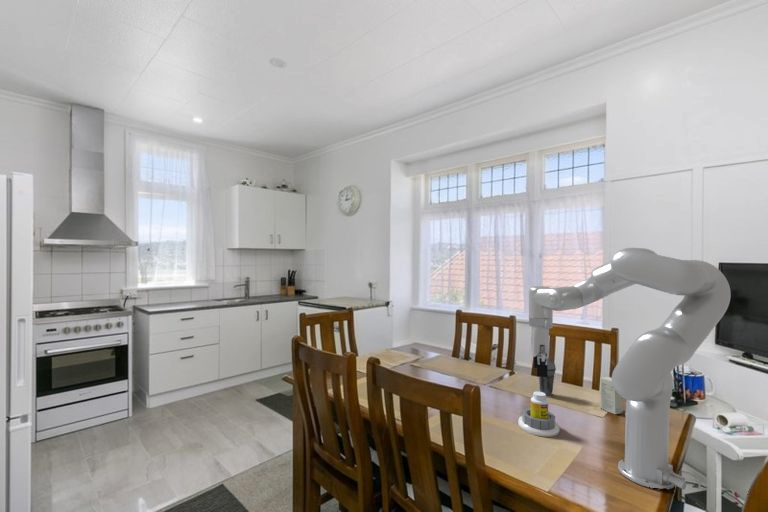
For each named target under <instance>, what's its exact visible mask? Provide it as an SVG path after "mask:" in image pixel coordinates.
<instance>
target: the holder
mask: <svg viewBox="0 0 768 512" xmlns="http://www.w3.org/2000/svg"><path fill="white" fill-rule="evenodd" d="M521 413H522V414H521V416H519V418H518V423H517V424H518V427H519V428H520V430H522V431H524V432H526V433H528V434H529V435H532V436H533V435H534V436H537V437H544V438H545V437H547V438H548V437H550V438H551V437H555V436H558V435H559V434H560V424H558V422H557V421H556V416H555V415H554V413H553V412H551V411H549V410H548V419H537V418H533V417H531V416H530V413H531V407H528V408H524V409H523V411H521Z"/></svg>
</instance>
